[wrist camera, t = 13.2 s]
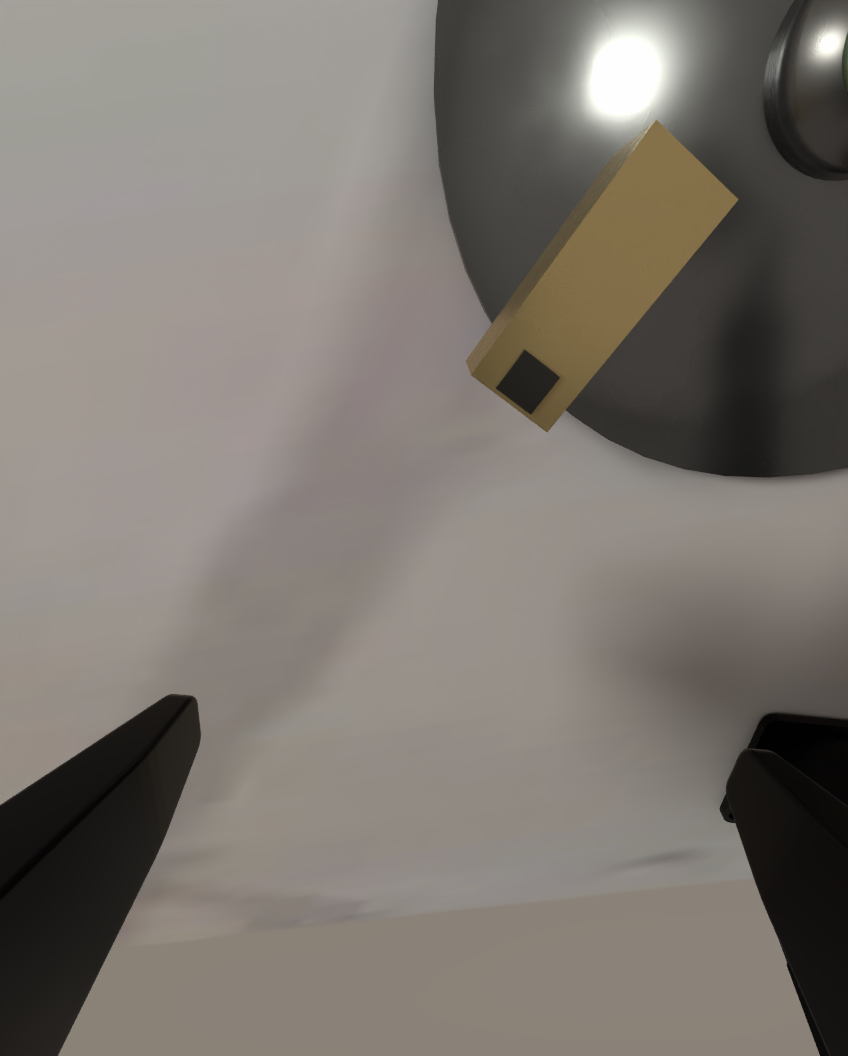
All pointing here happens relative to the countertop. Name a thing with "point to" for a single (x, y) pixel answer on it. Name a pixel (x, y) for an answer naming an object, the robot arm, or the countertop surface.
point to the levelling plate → (728, 252)
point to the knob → (600, 274)
